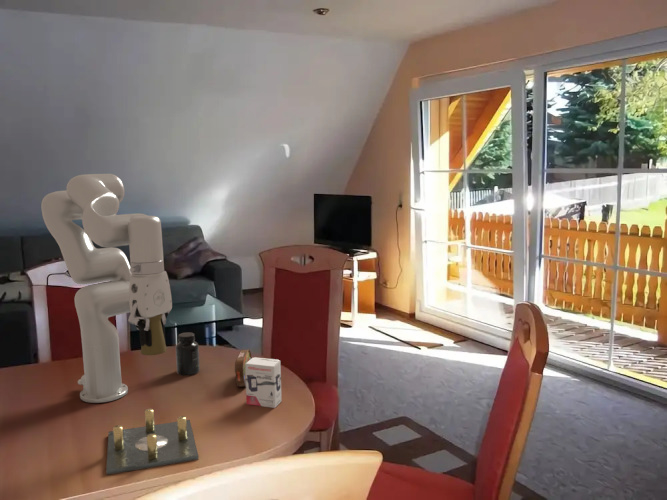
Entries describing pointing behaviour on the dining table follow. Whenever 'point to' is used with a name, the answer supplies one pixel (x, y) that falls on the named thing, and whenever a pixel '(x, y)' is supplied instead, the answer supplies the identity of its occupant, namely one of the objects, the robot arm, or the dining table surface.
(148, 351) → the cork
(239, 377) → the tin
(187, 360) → the supplement bottle
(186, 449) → the chassis plate
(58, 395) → the dining table surface
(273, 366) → the ink box
